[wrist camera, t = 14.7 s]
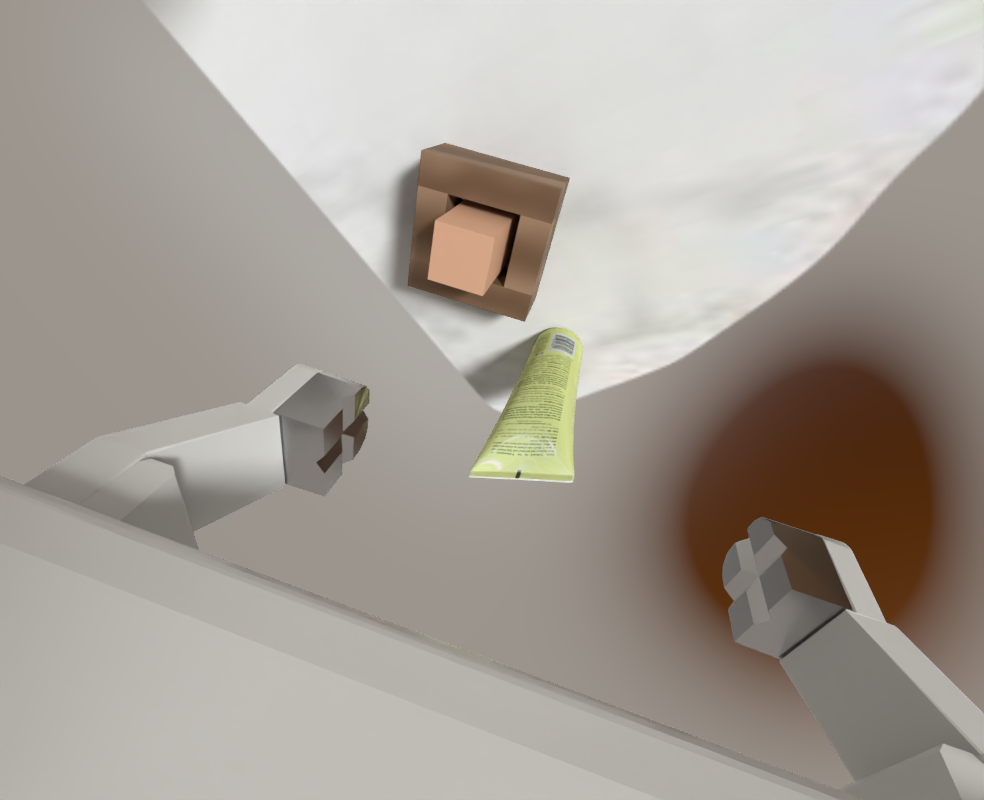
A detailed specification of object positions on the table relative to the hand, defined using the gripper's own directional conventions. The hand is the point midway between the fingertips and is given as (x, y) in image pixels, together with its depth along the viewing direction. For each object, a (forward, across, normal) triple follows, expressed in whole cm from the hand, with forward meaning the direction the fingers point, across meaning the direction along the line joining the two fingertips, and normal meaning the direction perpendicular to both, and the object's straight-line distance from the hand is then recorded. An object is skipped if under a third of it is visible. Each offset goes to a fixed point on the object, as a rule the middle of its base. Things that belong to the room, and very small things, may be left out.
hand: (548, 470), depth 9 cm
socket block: (+35, +9, +6) cm, 37 cm away
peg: (+34, +9, +6) cm, 36 cm away
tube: (+35, 0, +16) cm, 39 cm away
